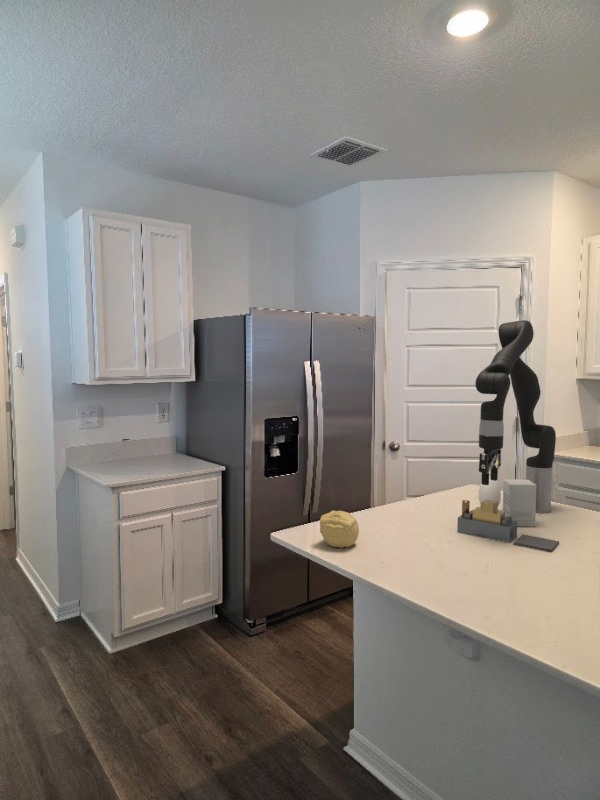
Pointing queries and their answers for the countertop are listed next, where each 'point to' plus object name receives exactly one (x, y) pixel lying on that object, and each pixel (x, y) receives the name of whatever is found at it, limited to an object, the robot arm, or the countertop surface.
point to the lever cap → (489, 512)
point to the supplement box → (520, 501)
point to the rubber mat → (536, 543)
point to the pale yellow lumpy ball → (339, 529)
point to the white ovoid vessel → (490, 491)
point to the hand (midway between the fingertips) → (489, 482)
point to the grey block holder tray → (486, 526)
